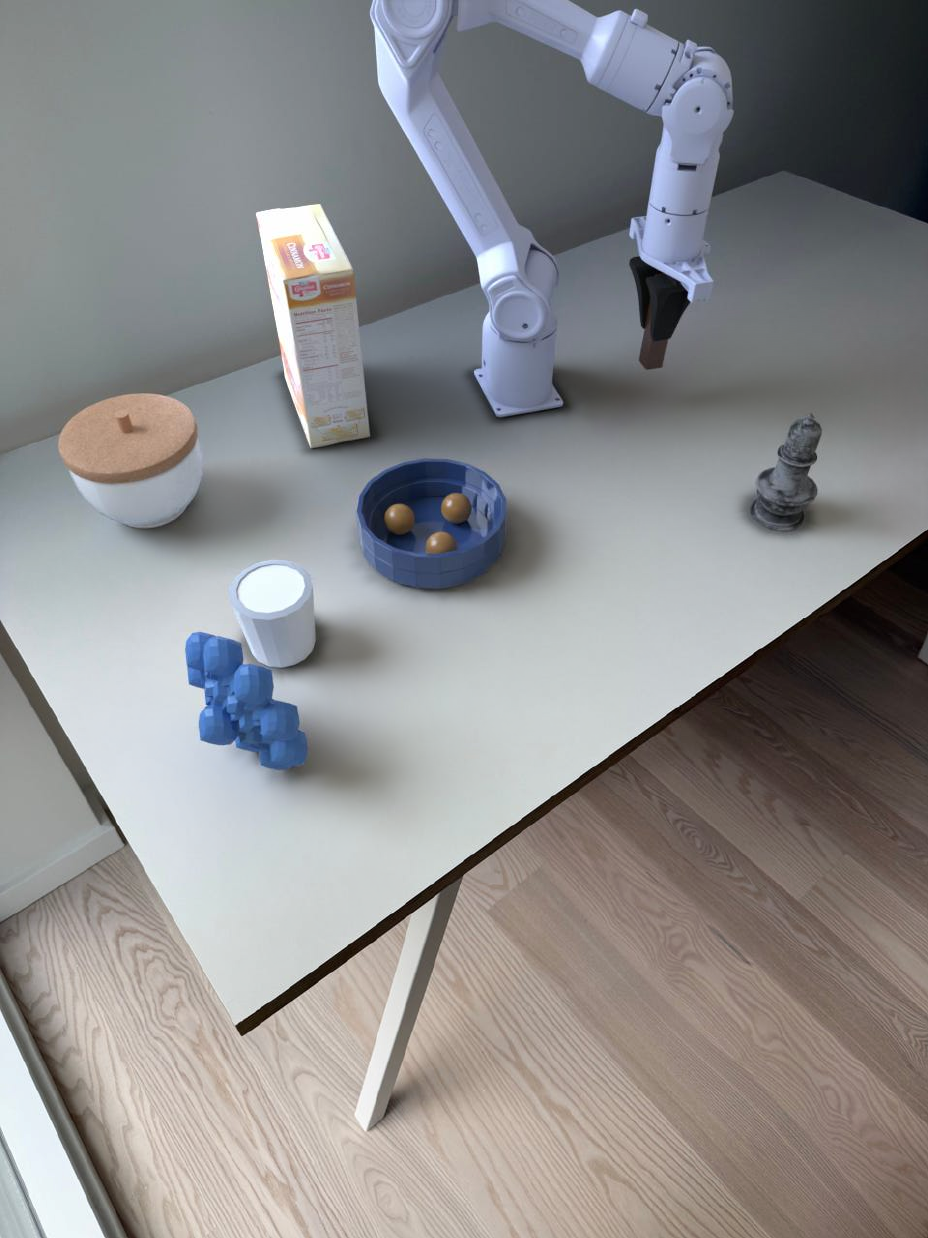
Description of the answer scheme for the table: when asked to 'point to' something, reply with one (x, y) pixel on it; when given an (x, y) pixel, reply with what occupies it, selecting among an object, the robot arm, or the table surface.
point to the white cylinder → (275, 611)
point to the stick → (652, 346)
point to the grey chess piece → (788, 479)
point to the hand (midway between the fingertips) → (655, 332)
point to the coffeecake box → (316, 323)
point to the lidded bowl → (135, 458)
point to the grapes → (242, 703)
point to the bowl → (432, 523)
